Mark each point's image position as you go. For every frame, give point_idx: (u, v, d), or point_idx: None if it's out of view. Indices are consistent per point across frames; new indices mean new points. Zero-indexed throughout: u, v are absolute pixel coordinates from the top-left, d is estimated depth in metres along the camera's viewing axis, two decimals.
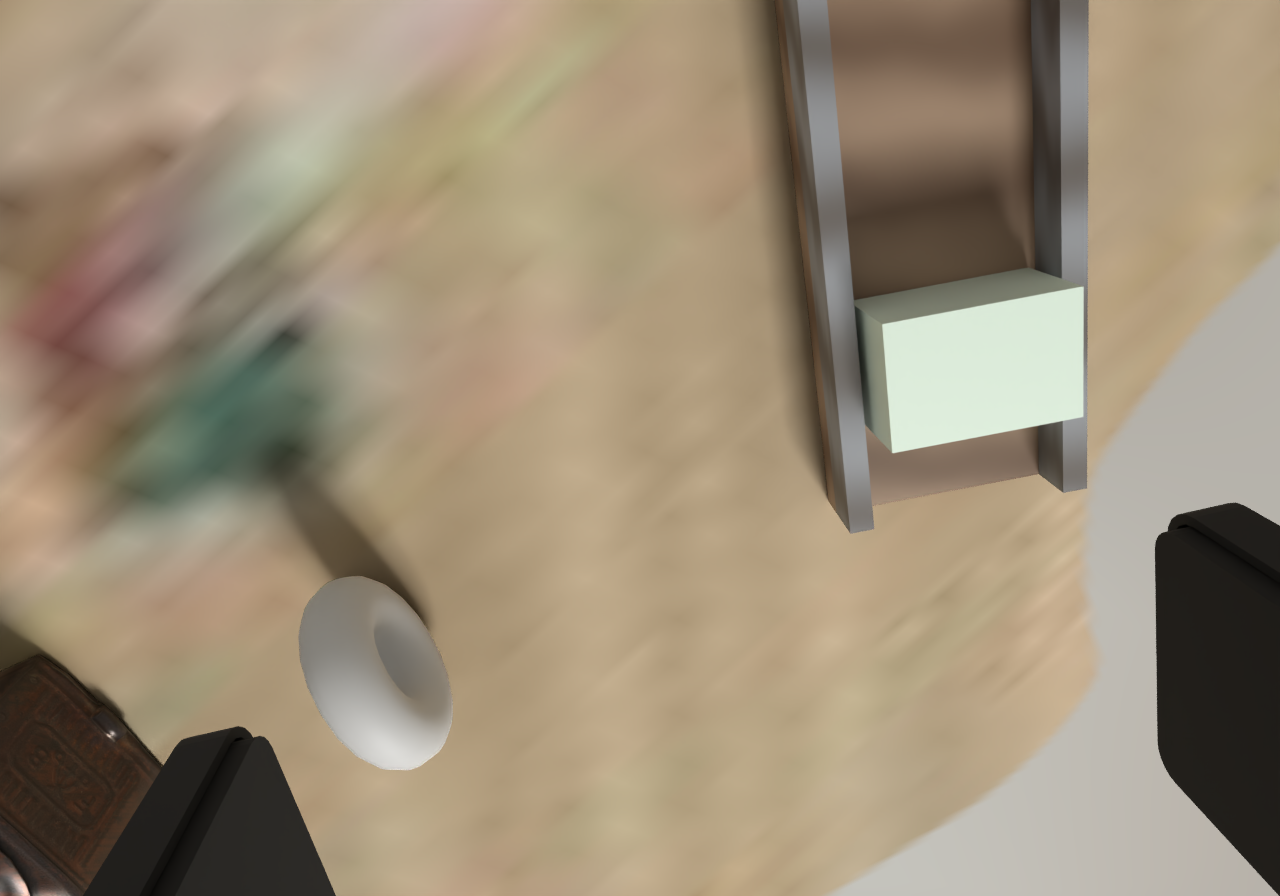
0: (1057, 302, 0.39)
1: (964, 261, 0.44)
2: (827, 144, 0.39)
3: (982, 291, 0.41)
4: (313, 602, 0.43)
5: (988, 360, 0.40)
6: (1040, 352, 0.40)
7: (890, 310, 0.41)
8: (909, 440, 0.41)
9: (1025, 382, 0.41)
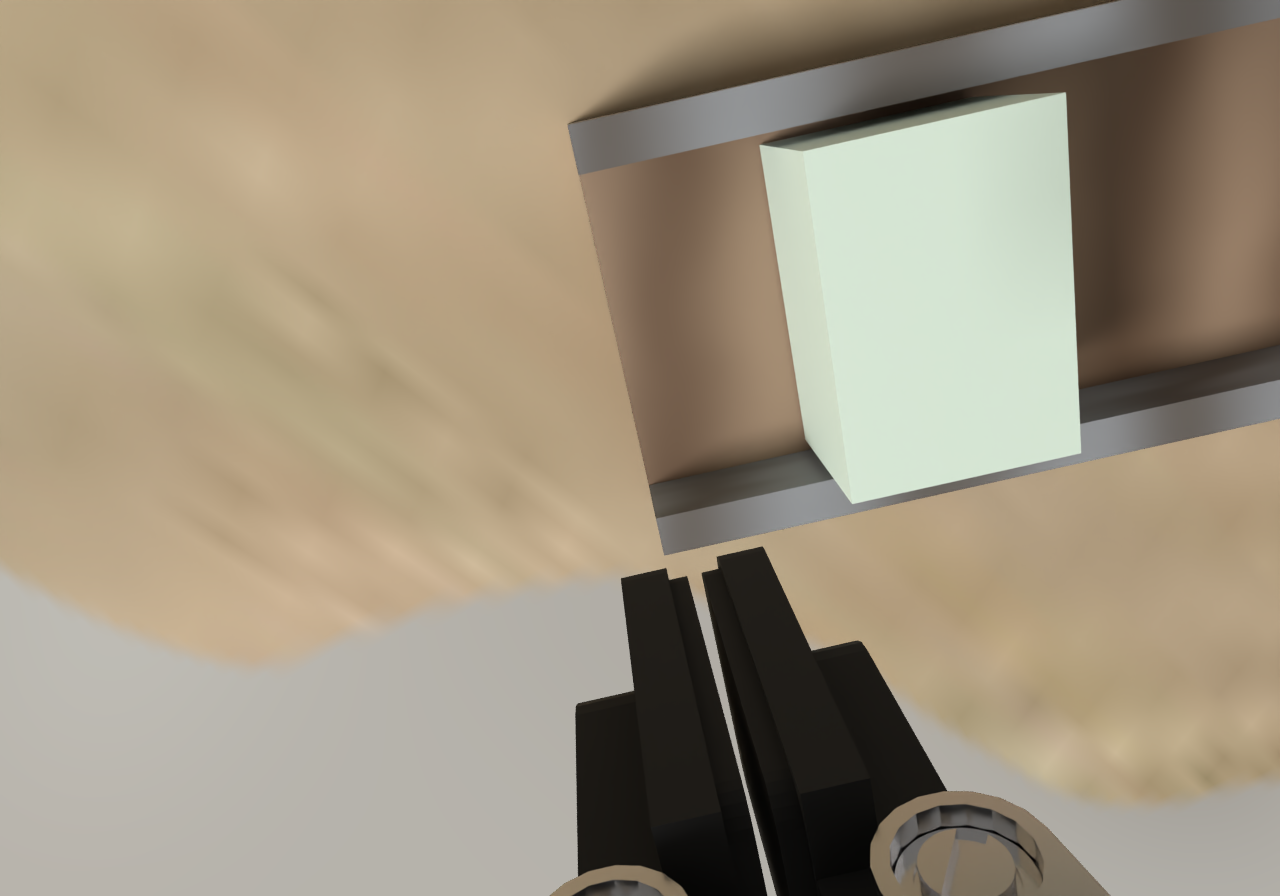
0: (1060, 415, 0.23)
1: None
2: None
3: None
4: None
5: (972, 313, 0.22)
6: (976, 405, 0.23)
7: None
8: (828, 184, 0.21)
9: (924, 389, 0.23)
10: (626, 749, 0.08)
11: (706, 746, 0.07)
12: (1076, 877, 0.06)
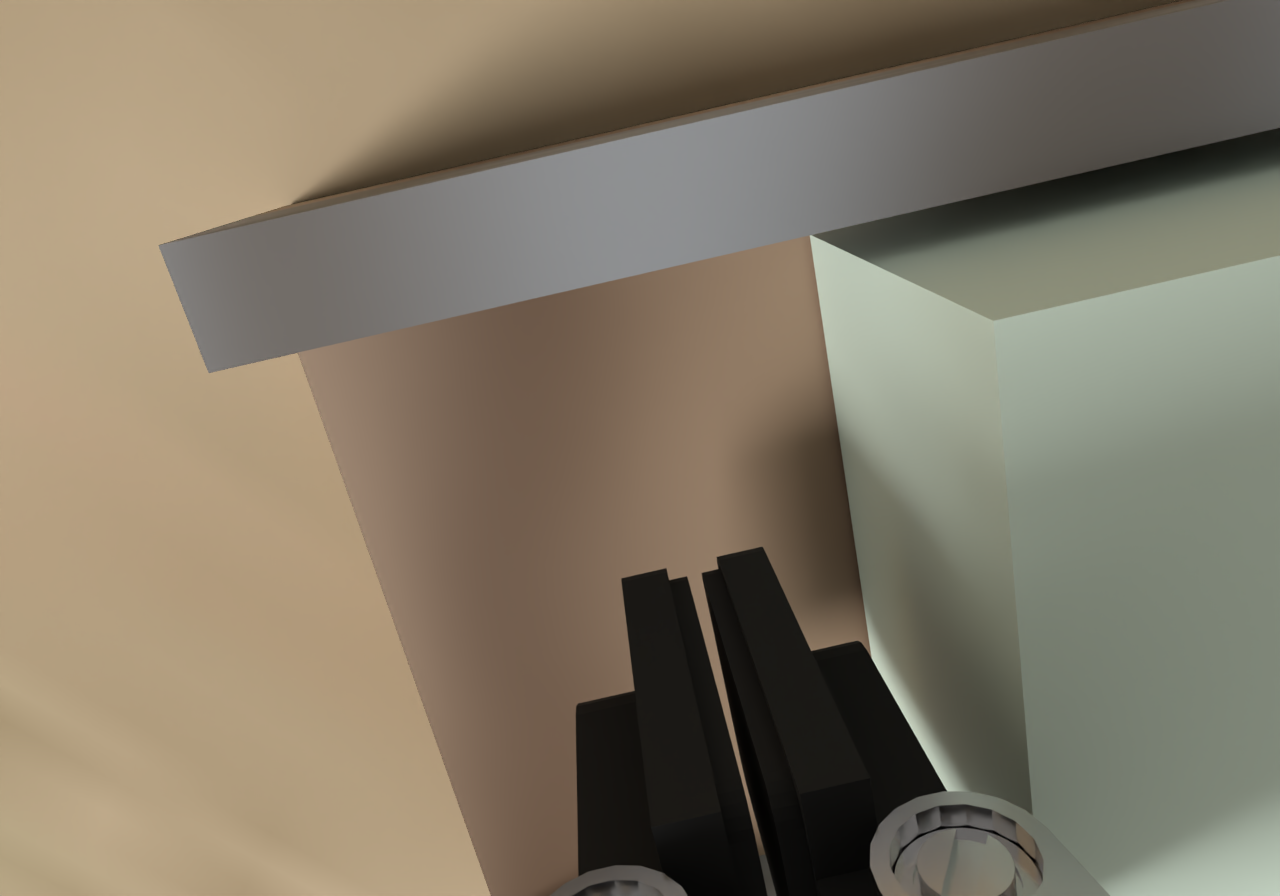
0: None
1: None
2: None
3: None
4: None
5: None
6: None
7: None
8: (1066, 416, 0.07)
9: None
10: (626, 749, 0.08)
11: (706, 746, 0.07)
12: (1075, 877, 0.06)
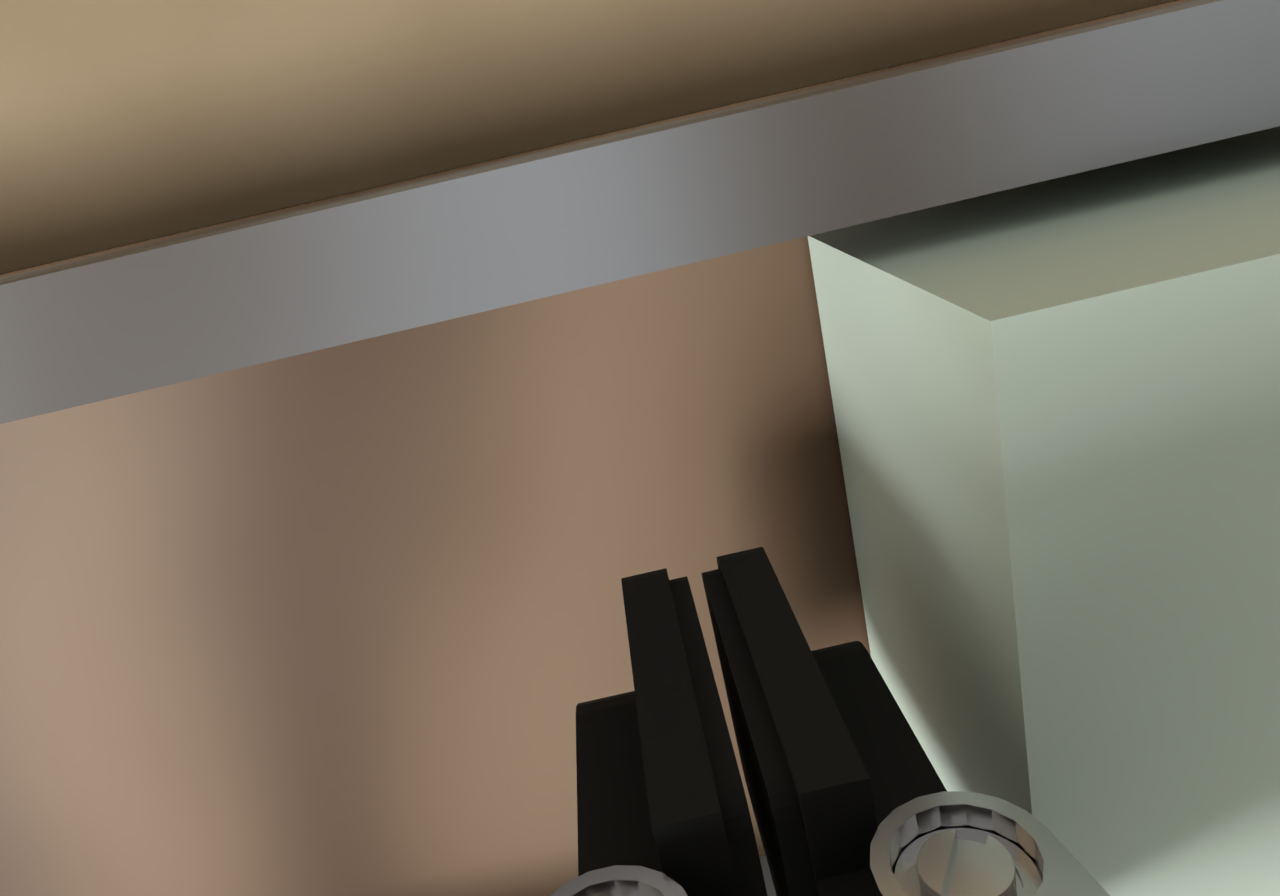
0: None
1: None
2: (1180, 89, 0.08)
3: None
4: None
5: None
6: None
7: None
8: (1063, 416, 0.07)
9: None
10: (626, 749, 0.08)
11: (706, 746, 0.07)
12: (1076, 877, 0.06)
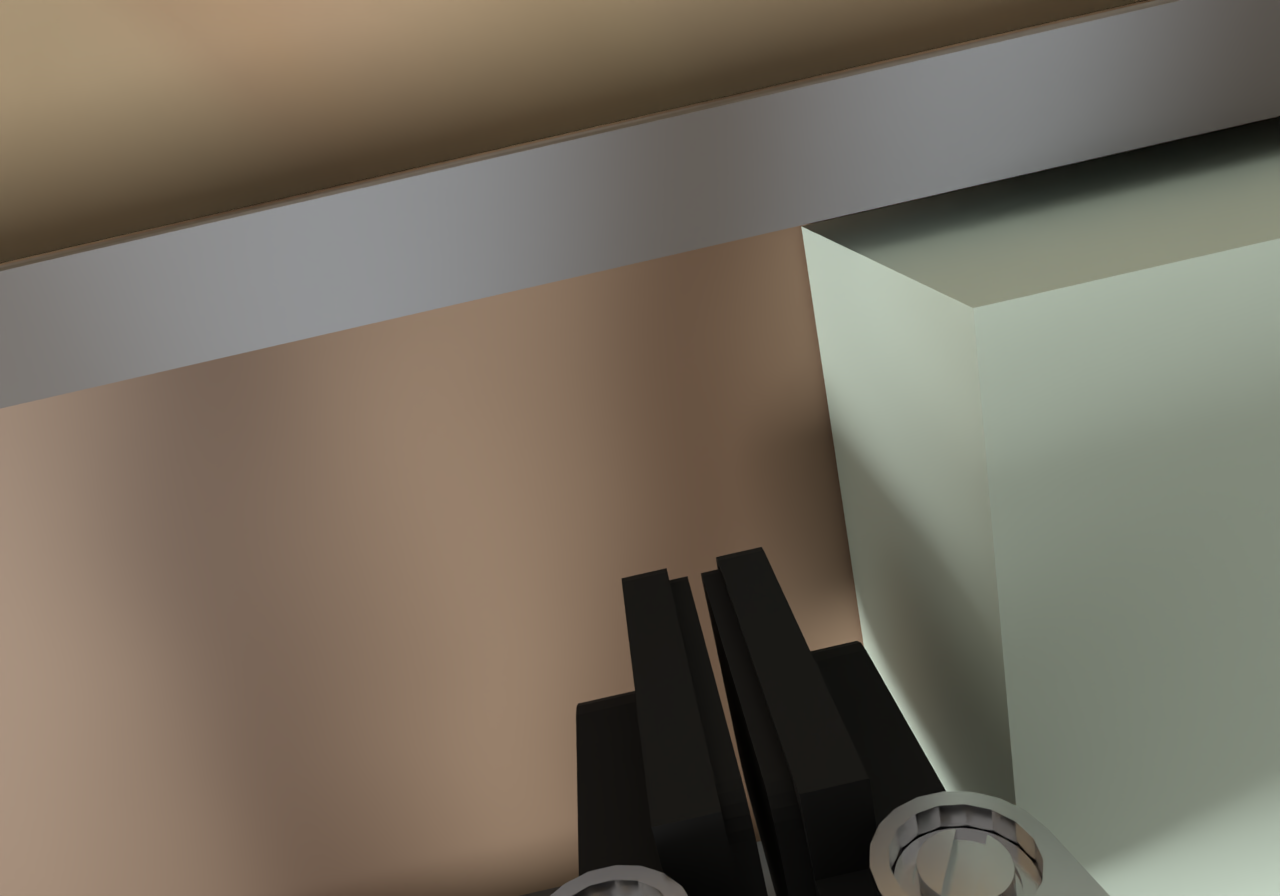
0: None
1: (49, 810, 0.13)
2: (289, 283, 0.09)
3: None
4: None
5: None
6: None
7: None
8: (1045, 402, 0.07)
9: None
10: (626, 749, 0.08)
11: (706, 746, 0.07)
12: (1075, 877, 0.06)
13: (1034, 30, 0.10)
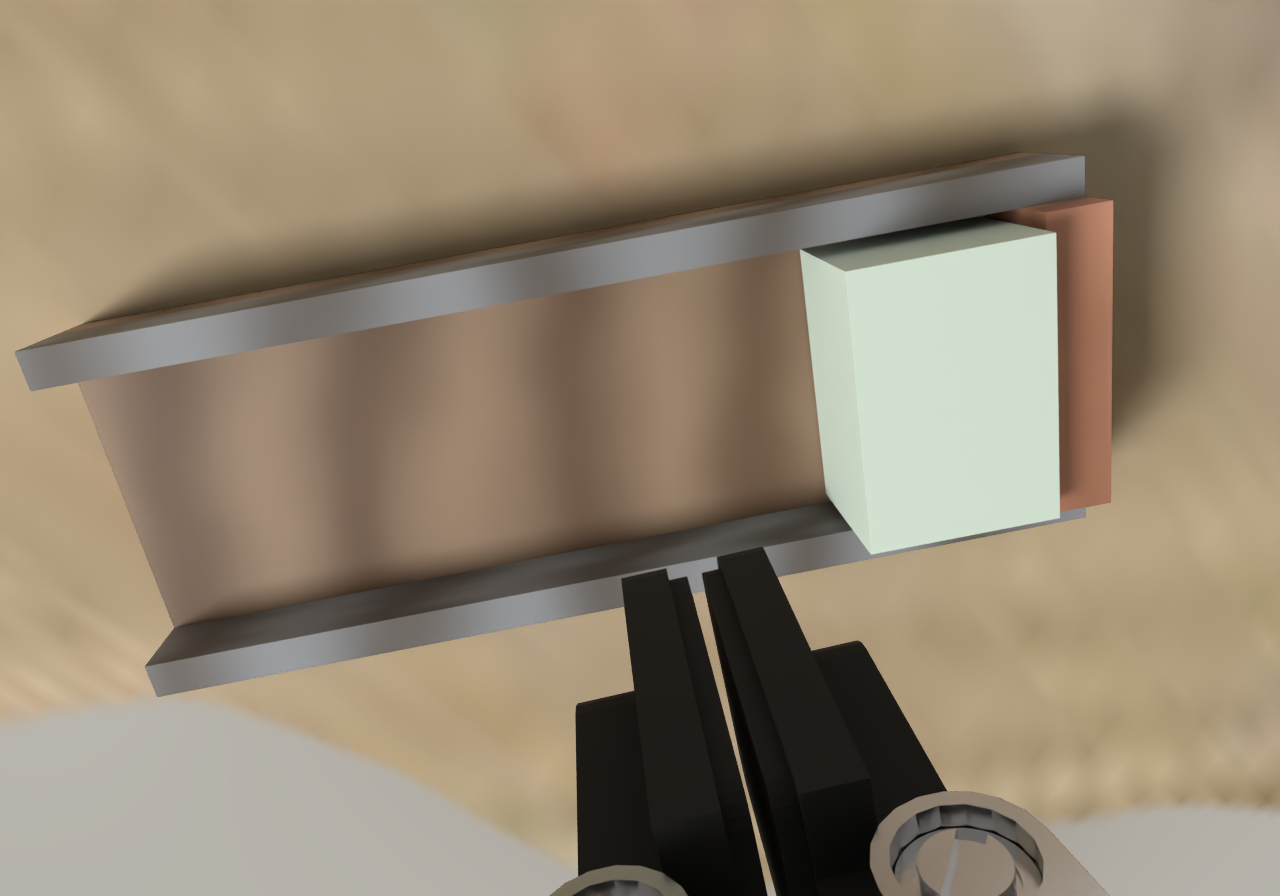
0: (1044, 487, 0.28)
1: (481, 477, 0.32)
2: (643, 259, 0.27)
3: None
4: None
5: (975, 403, 0.27)
6: (976, 476, 0.28)
7: None
8: (864, 297, 0.26)
9: (934, 463, 0.27)
10: (626, 749, 0.08)
11: (706, 746, 0.07)
12: (1075, 877, 0.06)
13: (881, 187, 0.29)
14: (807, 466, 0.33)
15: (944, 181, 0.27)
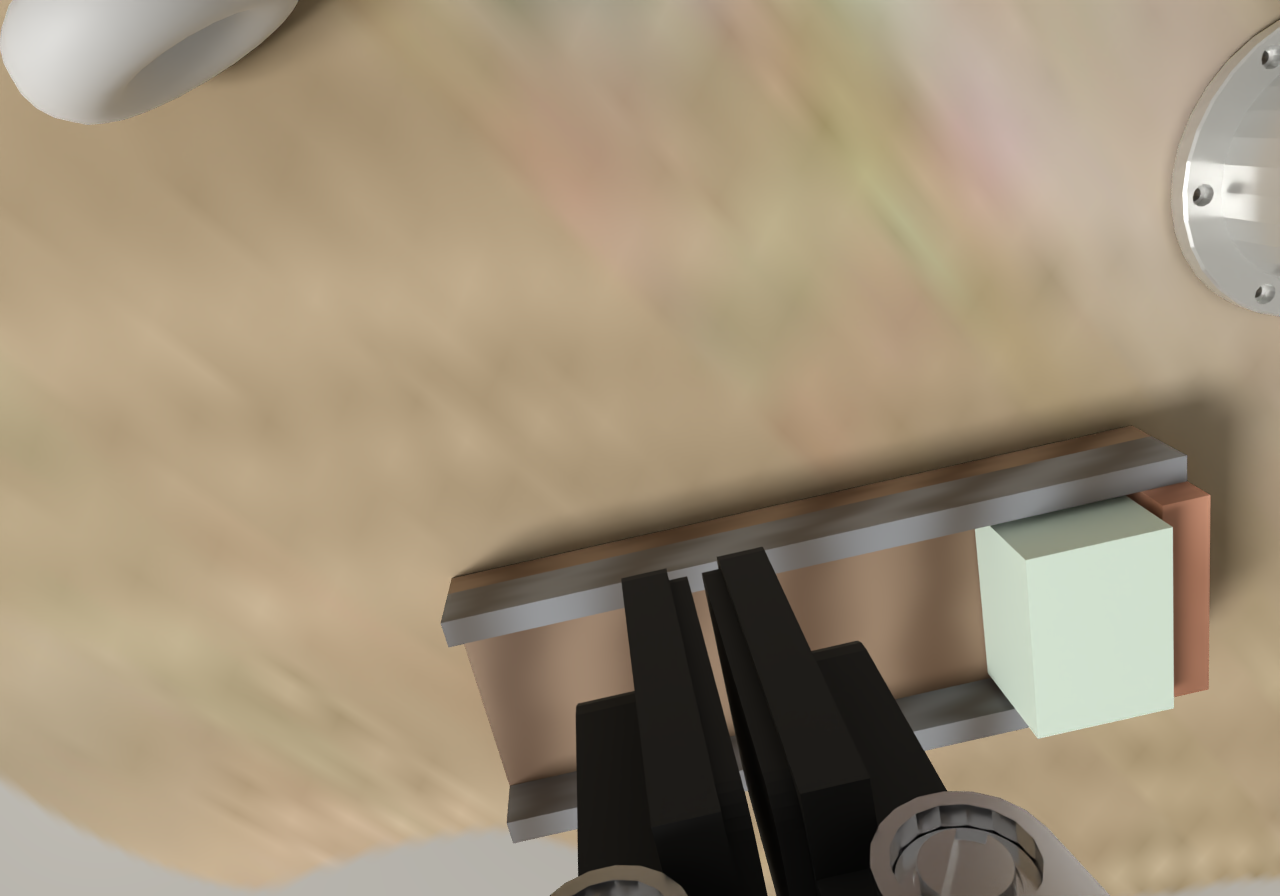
0: (1162, 688, 0.39)
1: None
2: (873, 540, 0.39)
3: None
4: None
5: (1114, 637, 0.38)
6: (1114, 684, 0.39)
7: None
8: (1038, 575, 0.37)
9: (1084, 677, 0.39)
10: (625, 749, 0.08)
11: (705, 746, 0.07)
12: (1075, 877, 0.06)
13: (1037, 473, 0.40)
14: (974, 654, 0.44)
15: (1086, 477, 0.38)
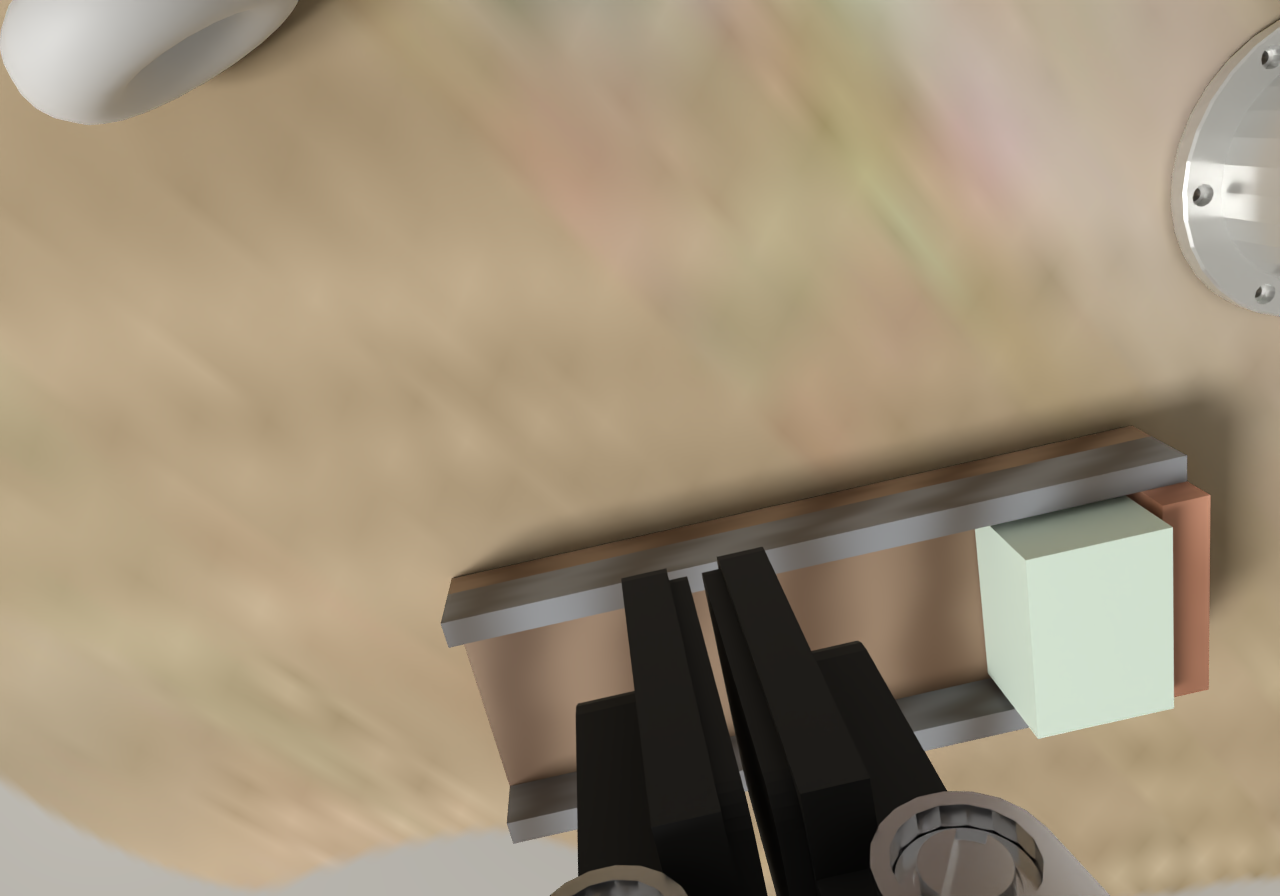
0: (1162, 688, 0.39)
1: None
2: (873, 540, 0.39)
3: None
4: None
5: (1114, 637, 0.38)
6: (1114, 684, 0.39)
7: None
8: (1038, 575, 0.37)
9: (1084, 677, 0.39)
10: (625, 749, 0.08)
11: (706, 746, 0.07)
12: (1076, 877, 0.06)
13: (1037, 473, 0.40)
14: (974, 654, 0.44)
15: (1086, 477, 0.38)
